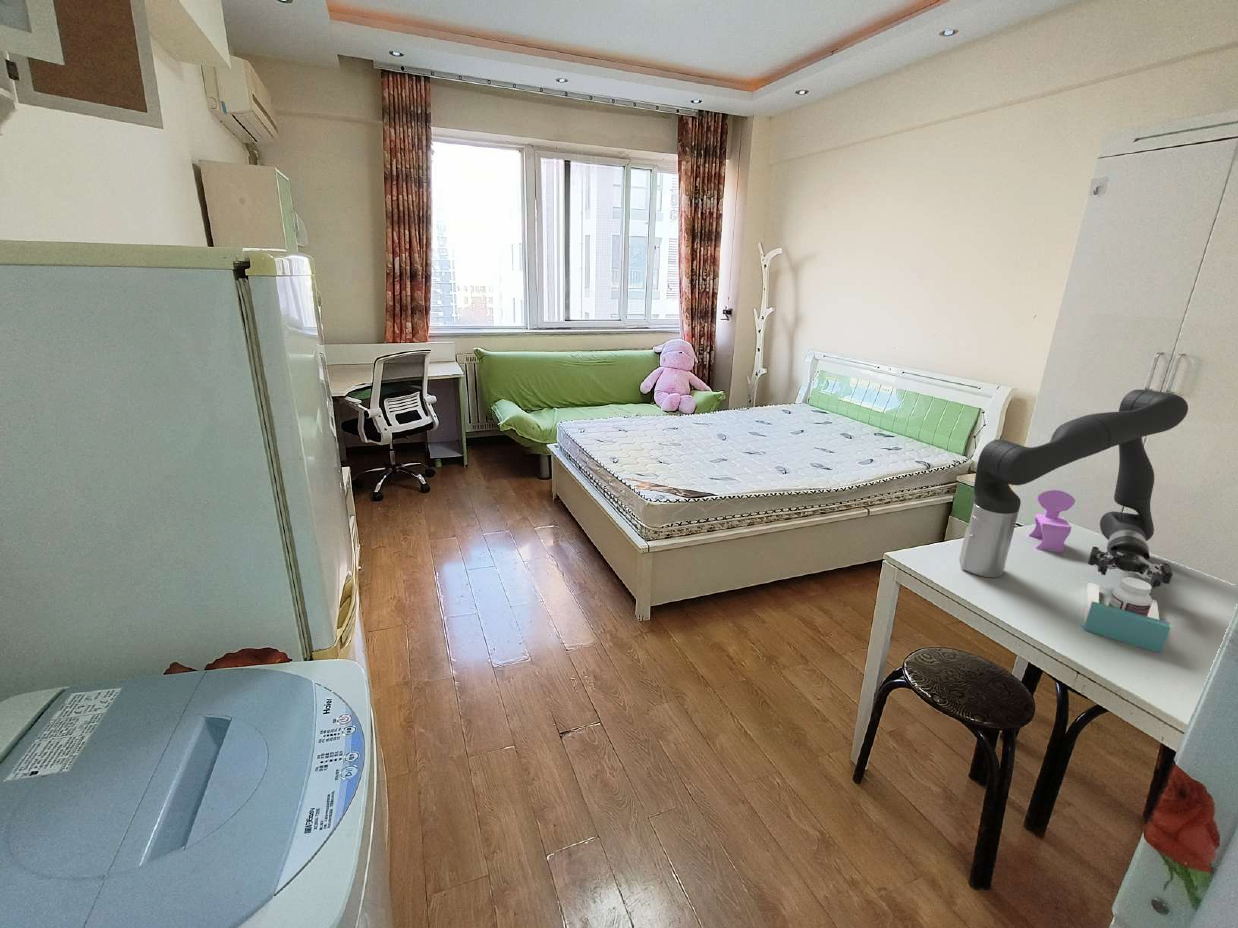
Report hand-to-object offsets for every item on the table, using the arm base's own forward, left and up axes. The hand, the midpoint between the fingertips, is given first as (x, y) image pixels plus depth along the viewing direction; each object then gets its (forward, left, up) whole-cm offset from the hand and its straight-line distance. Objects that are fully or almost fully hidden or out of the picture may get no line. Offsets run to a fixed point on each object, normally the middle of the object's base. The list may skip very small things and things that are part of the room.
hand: (1129, 577), depth 125 cm
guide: (-1, -5, -7) cm, 9 cm away
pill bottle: (-3, -11, -7) cm, 13 cm away
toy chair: (-8, +28, -7) cm, 30 cm away
